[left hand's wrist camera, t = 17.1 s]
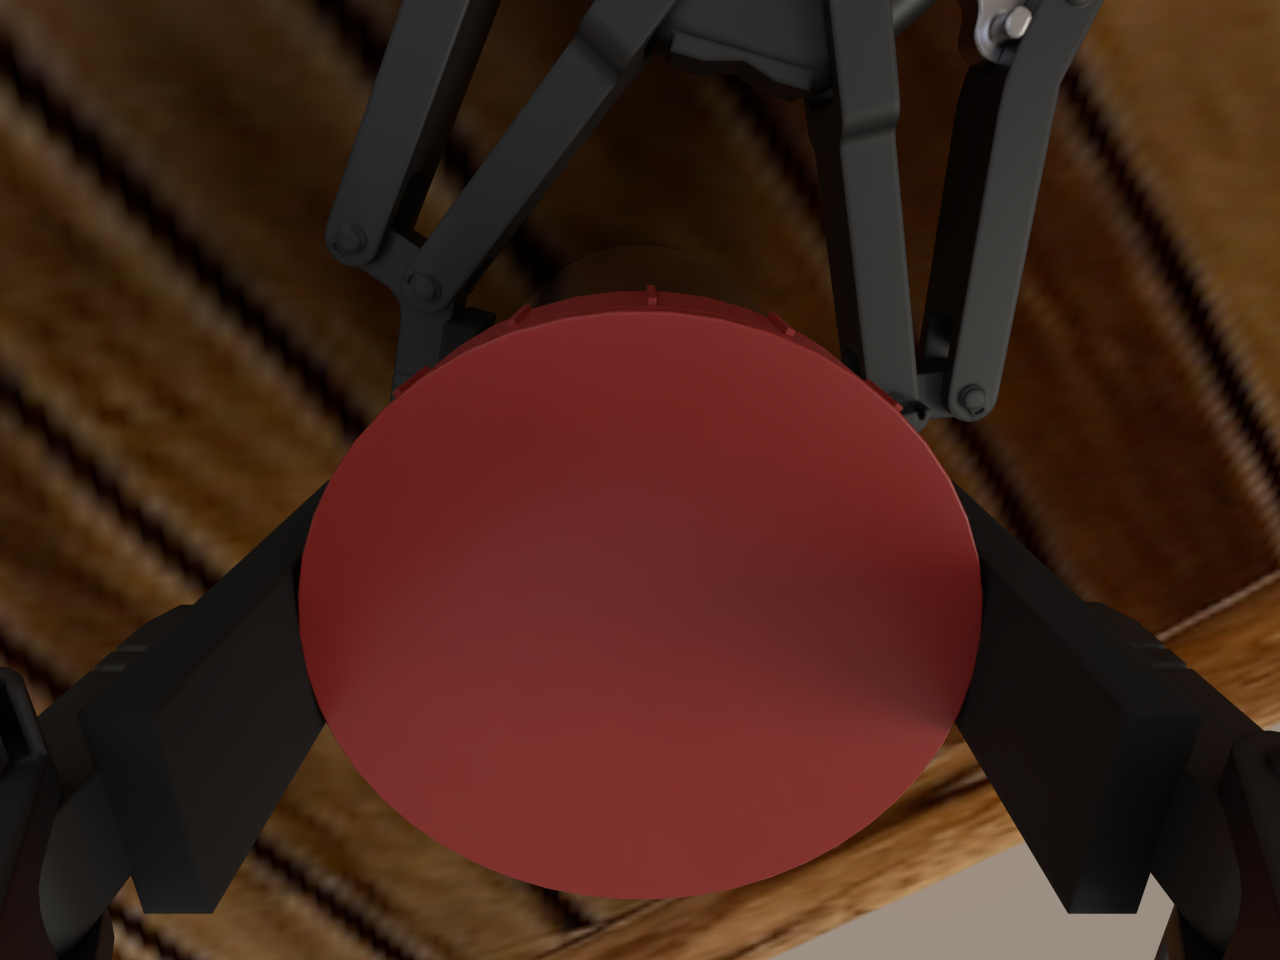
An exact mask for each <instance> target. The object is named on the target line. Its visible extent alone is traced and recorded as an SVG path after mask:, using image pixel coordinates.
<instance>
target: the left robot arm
mask: <svg viewBox="0 0 1280 960" xmlns="http://www.w3.org/2000/svg"><path fill="white" fill-rule="evenodd" d="M329 480H330V479H329ZM329 480H328V481H327V482H326V483H325V484H324V485H323V486H322V487H320V488H319V489H318V490H317V491H316V492H315V493H314V494H313V495H312V496H311V497H310V498H309V499H307V500H306V501H305V502H304V503H303V504H302V505H301V506H300V507H299V508H298V509H297V510H296V511H294V512H293V513H292V514H291V515H290V516H289V517H288V518H287V519H286V520H285V521H284V522H282V523H281V524H280V525H279V526H278V527H277V528H276V529H275V530H274V531H273V532H272V533H271V534H269V535H268V536H267V537H266V538H265V539H264V540H263V541H262V542H261V543H260V544H259V545H258V546H256V547H255V548H254V549H253V550H252V551H251V552H250V553H249V554H248V555H247V556H246V557H245V558H243V559H242V560H241V561H240V562H239V563H238V564H237V565H236V566H235V567H234V568H233V569H231V570H230V571H229V572H228V573H227V574H226V575H225V576H224V577H223V578H222V579H221V580H220V581H218V582H217V583H216V584H215V585H214V586H213V587H212V588H211V589H210V590H209V591H208V592H207V593H205V594H204V595H203V596H202V597H201V598H200V599H199V600H198V601H197V602H196V603H195V604H194V605H179V606H177V607H175V608H174V609H172V610H170V611H168V612H166V613H164V614H162V615H160V616H158V617H157V618H155V619H153V620H151V621H149V622H147V623H145V624H144V625H142V626H141V627H140V628H139V629H138V630H137V631H135V632H134V633H133V634H132V635H131V636H130V637H129V638H127V639H126V640H125V641H124V642H123V643H122V644H121V645H119V646H118V647H117V652H111V653H110V654H109V655H108V656H107V657H106V658H104V659H103V660H102V661H101V662H100V663H99V664H97V665H96V666H95V671H94V672H88V673H87V674H86V675H85V676H84V677H83V678H81V679H80V680H79V681H78V682H77V683H76V684H74V685H73V686H72V687H71V688H70V689H69V690H68V691H66V692H65V693H64V694H63V695H62V696H61V697H60V698H58V699H57V700H56V701H55V702H54V703H53V704H51V705H50V706H49V707H48V708H47V709H46V710H45V711H43V712H42V713H41V714H40V715H39V716H38V717H37V715H36V712H35V710H34V707H33V704H32V701H31V699H30V696H29V693H28V691H27V688H26V685H25V682H24V680H23V677H22V675H21V674H20V673H18V672H16V671H14V670H12V669H11V668H9V667H0V960H112V953H113V945H114V938H115V937H114V932H113V926H112V921H111V918H110V915H109V913H108V910H107V906H108V905H109V904H110V902H111V901H112V900H113V898H114V897H115V896H116V894H117V893H118V892H119V890H120V889H121V888H122V886H123V885H124V884H125V882H126V881H127V880H128V878H129V877H130V876H132V879H133V882H134V885H135V888H136V891H137V894H138V897H139V900H140V903H141V906H142V909H143V912H144V914H212V913H213V912H214V910H215V908H216V907H217V905H218V903H219V902H220V900H221V898H222V896H223V895H224V893H225V891H226V890H227V888H228V886H229V885H230V883H231V881H232V880H233V878H234V876H235V875H236V873H237V871H238V869H239V868H240V866H241V864H242V863H243V861H244V859H245V858H246V856H247V854H248V853H249V851H250V849H251V848H252V846H253V844H254V843H255V841H256V839H257V837H258V836H259V834H260V832H261V831H262V829H263V827H264V826H265V824H266V822H267V821H268V819H269V817H270V816H271V814H272V812H273V811H274V809H275V807H276V805H277V804H278V802H279V800H280V799H281V797H282V795H283V794H284V792H285V790H286V789H287V787H288V785H289V784H290V782H291V780H292V778H293V777H294V775H295V773H296V772H297V770H298V768H299V767H300V765H301V763H302V762H303V760H304V758H305V757H306V755H307V753H308V752H309V750H310V748H311V746H312V745H313V743H314V741H315V740H316V738H317V736H318V735H319V733H320V731H321V730H322V728H323V726H324V725H325V723H326V720H325V718H324V716H323V714H322V712H321V711H320V709H319V706H318V704H317V701H316V698H315V695H314V692H313V689H312V686H311V683H310V681H309V678H308V673H307V668H306V663H305V658H304V653H303V648H302V643H301V638H300V632H299V617H298V587H299V579H300V570H301V562H302V554H303V551H304V547H305V543H306V540H307V536H308V533H309V529H310V526H311V522H312V519H313V515H314V513H315V511H316V509H317V506H318V504H319V502H320V500H321V498H322V496H323V493H324V491H325V488H326V487H327V485H328V483H329ZM951 481H952V480H951ZM952 483H953V486H954V488H955V490H956V492H957V494H958V497H959V499H960V501H961V503H962V506H963V508H964V510H965V512H966V514H967V517H968V520H969V523H970V527H971V531H972V534H973V538H974V542H975V545H976V549H977V553H978V556H979V565H980V574H981V583H982V592H983V608H982V629H981V636H980V641H979V646H978V652H977V657H976V662H975V667H974V672H973V676H972V680H971V683H970V685H969V688H968V691H967V694H966V697H965V699H964V702H963V705H962V708H961V710H960V712H959V714H958V716H957V718H956V720H955V724H956V725H957V727H958V729H959V731H960V732H961V734H962V736H963V737H964V739H965V741H966V742H967V744H968V746H969V747H970V749H971V751H972V752H973V754H974V756H975V758H976V759H977V761H978V763H979V764H980V766H981V768H982V769H983V771H984V773H985V774H986V776H987V778H988V779H989V781H990V783H991V784H992V786H993V788H994V790H995V791H996V793H997V795H998V796H999V798H1000V800H1001V801H1002V803H1003V805H1004V806H1005V808H1006V810H1007V811H1008V813H1009V815H1010V816H1011V818H1012V820H1013V822H1014V823H1015V825H1016V827H1017V828H1018V830H1019V832H1020V833H1021V835H1022V837H1023V838H1024V840H1025V842H1026V843H1027V845H1028V847H1029V848H1030V850H1031V852H1032V853H1033V855H1034V857H1035V859H1036V860H1037V862H1038V864H1039V865H1040V867H1041V869H1042V870H1043V872H1044V874H1045V875H1046V877H1047V879H1048V880H1049V882H1050V884H1051V886H1052V887H1053V889H1054V891H1055V892H1056V894H1057V896H1058V897H1059V899H1060V901H1061V902H1062V904H1063V906H1064V907H1065V909H1066V911H1067V913H1068V914H1136V913H1137V910H1138V907H1139V905H1140V902H1141V899H1142V896H1143V893H1144V890H1145V887H1146V884H1147V881H1148V878H1149V875H1150V872H1151V874H1152V875H1153V876H1154V878H1155V879H1156V880H1157V882H1158V883H1159V884H1160V886H1161V887H1162V888H1163V890H1164V891H1165V892H1166V894H1167V895H1168V896H1169V898H1170V899H1171V900H1172V902H1173V903H1174V907H1173V910H1172V913H1171V915H1170V918H1169V921H1168V924H1167V926H1166V929H1165V932H1164V935H1163V937H1162V940H1161V943H1160V946H1159V948H1158V951H1157V954H1156V957H1155V959H1154V960H1280V732H1275V731H1264V730H1262V729H1261V728H1260V727H1259V726H1258V725H1257V724H1256V723H1254V722H1253V721H1252V720H1251V719H1250V718H1249V717H1247V716H1246V715H1245V714H1244V713H1243V712H1242V711H1240V710H1239V709H1238V708H1237V707H1236V706H1235V705H1233V704H1232V703H1231V702H1230V701H1229V700H1228V699H1227V698H1225V697H1224V696H1223V695H1222V694H1221V693H1220V692H1218V691H1217V690H1216V689H1215V688H1214V687H1213V686H1211V685H1210V684H1209V683H1208V682H1207V681H1206V680H1204V679H1203V678H1202V677H1201V676H1200V675H1199V674H1198V673H1196V672H1195V671H1194V670H1193V669H1187V667H1186V663H1185V662H1184V661H1182V660H1181V659H1180V658H1179V657H1178V656H1177V655H1176V654H1174V653H1173V652H1172V651H1171V650H1170V649H1164V644H1163V643H1162V642H1160V641H1159V640H1158V639H1157V638H1156V637H1155V636H1153V635H1152V634H1151V633H1150V632H1149V631H1148V630H1147V629H1145V628H1144V627H1143V626H1142V625H1141V624H1140V623H1138V622H1137V621H1135V620H1133V619H1131V618H1129V617H1128V616H1126V615H1124V614H1122V613H1120V612H1118V611H1116V610H1114V609H1112V608H1110V607H1109V606H1107V605H1105V604H1103V603H1101V602H1084V601H1083V600H1082V599H1080V598H1079V597H1078V596H1077V595H1076V594H1075V593H1074V592H1073V591H1072V590H1071V589H1070V588H1069V587H1067V586H1066V585H1065V584H1064V583H1063V582H1062V581H1061V580H1060V579H1059V578H1058V577H1057V576H1056V575H1054V574H1053V573H1052V572H1051V571H1050V570H1049V569H1048V568H1047V567H1046V566H1045V565H1044V564H1042V563H1041V562H1040V561H1039V560H1038V559H1037V558H1036V557H1035V556H1034V555H1033V554H1032V553H1031V552H1029V551H1028V550H1027V549H1026V548H1025V547H1024V546H1023V545H1022V544H1021V543H1020V542H1019V541H1018V540H1016V539H1015V538H1014V537H1013V536H1012V535H1011V534H1010V533H1009V532H1008V531H1007V530H1006V529H1005V528H1003V527H1002V526H1001V525H1000V524H999V523H998V522H997V521H996V520H995V519H994V518H993V517H991V516H990V515H989V514H988V513H987V512H986V511H985V510H984V509H983V508H982V507H981V506H980V505H978V504H977V503H976V502H975V501H974V500H973V499H972V498H971V497H970V496H969V495H968V494H967V493H965V492H964V491H963V490H962V489H961V488H960V487H959V486H958V485H957V484H956V483H955V482H953V481H952Z"/></svg>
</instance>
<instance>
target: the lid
mask: <svg viewBox="0 0 1280 960" xmlns="http://www.w3.org/2000/svg"><path fill="white" fill-rule="evenodd" d="M392 394H393V395H394V396H395V397H396V399H394V400H393V401H392V402H391V403H390V404H388V405H387V406H386V407H385V408H384V409H383V410H382V412H381V413H380V414H379V415H378V416H377V417H376V418H375V419H374V420H373V421H372V423H371V424H370V425H369V426H368V427H367V428H366V429H365V430H364V431H363V432H362V434H361V435H360V436H359V437H358V438H357V439H356V440H355V442H354V443H353V445H352V446H351V448H350V449H349V451H348V452H347V454H346V455H345V457H344V458H343V460H342V461H341V463H340V464H339V466H338V467H337V469H336V470H335V472H334V473H333V475H332V476H331V478H330V480H329V483H328V485H327V487H326V488H325V491H324V493H323V496H322V498H321V500H320V502H319V504H318V506H317V509H316V511H315V513H314V515H313V519H312V522H311V526H310V529H309V533H308V536H307V540H306V543H305V547H304V551H303V554H302V562H301V570H300V579H299V587H298V617H299V632H300V638H301V643H302V648H303V653H304V658H305V663H306V668H307V673H308V678H309V681H310V683H311V686H312V689H313V692H314V695H315V698H316V701H317V704H318V706H319V709H320V711H321V712H322V714H323V716H324V718H325V720H326V722H327V724H328V726H329V728H330V730H331V732H332V734H333V736H334V738H335V740H336V741H337V743H338V744H339V746H340V747H341V748H342V750H343V751H344V753H345V754H346V756H347V757H348V759H349V760H350V761H351V763H352V764H353V766H354V767H355V769H356V770H357V771H358V772H359V774H360V775H361V776H362V777H363V778H364V779H365V780H366V781H367V782H368V784H369V785H370V786H371V787H372V788H373V789H374V790H375V791H376V792H377V794H378V795H379V796H380V797H381V798H382V799H383V800H384V801H385V802H387V803H388V804H389V805H390V806H391V807H392V808H393V809H395V810H396V811H397V812H398V813H399V814H400V815H401V816H403V817H404V818H405V819H406V820H407V821H408V822H409V823H411V824H412V825H414V826H415V827H416V828H418V829H419V830H421V831H422V832H424V833H425V834H427V835H428V836H429V837H431V838H432V839H434V840H435V841H437V842H438V843H440V844H441V845H443V846H445V847H447V848H448V849H450V850H452V851H454V852H456V853H458V854H460V855H461V856H463V857H465V858H467V859H469V860H471V861H472V862H474V863H477V864H479V865H482V866H484V867H486V868H489V869H491V870H494V871H496V872H498V873H501V874H503V875H506V876H508V877H511V878H514V879H518V880H521V881H524V882H528V883H531V884H534V885H538V886H541V887H544V888H549V889H554V890H559V891H564V892H569V893H574V894H579V895H587V896H597V897H607V898H617V899H663V898H674V897H684V896H695V895H701V894H706V893H711V892H717V891H722V890H727V889H732V888H736V887H739V886H743V885H746V884H750V883H753V882H756V881H760V880H763V879H767V878H770V877H772V876H775V875H777V874H780V873H782V872H785V871H787V870H790V869H792V868H795V867H797V866H799V865H802V864H804V863H806V862H808V861H810V860H812V859H814V858H816V857H817V856H819V855H821V854H823V853H825V852H827V851H829V850H831V849H833V848H834V847H836V846H838V845H839V844H841V843H842V842H844V841H845V840H847V839H848V838H850V837H851V836H853V835H854V834H856V833H857V832H859V831H860V830H862V829H863V828H864V827H866V826H867V825H869V824H870V823H871V822H872V821H873V820H875V819H876V818H877V817H878V816H879V815H880V814H882V813H883V812H884V811H885V810H886V809H887V808H889V807H890V806H891V805H892V804H893V803H894V802H896V801H897V800H898V799H899V797H900V796H901V795H902V794H903V793H904V792H905V791H906V790H907V789H908V788H909V787H910V785H911V784H912V783H913V782H914V781H915V780H916V779H917V778H918V777H919V776H920V775H921V773H922V772H923V771H924V769H925V768H926V767H927V765H928V764H929V762H930V761H931V759H932V758H933V757H934V755H935V754H936V752H937V751H938V750H939V748H940V747H941V745H942V744H943V743H944V741H945V739H946V737H947V735H948V733H949V731H950V729H951V727H952V725H953V723H954V722H955V720H956V718H957V716H958V714H959V712H960V710H961V708H962V705H963V702H964V699H965V697H966V694H967V691H968V688H969V685H970V683H971V680H972V676H973V672H974V667H975V662H976V657H977V652H978V646H979V641H980V636H981V629H982V608H983V592H982V583H981V574H980V565H979V556H978V553H977V549H976V545H975V542H974V538H973V534H972V531H971V527H970V523H969V520H968V517H967V514H966V512H965V510H964V508H963V506H962V503H961V501H960V499H959V497H958V494H957V492H956V490H955V488H954V486H953V483H952V481H951V479H950V477H949V476H948V474H947V473H946V471H945V470H944V468H943V467H942V465H941V464H940V462H939V461H938V459H937V457H936V456H935V454H934V453H933V451H932V450H931V448H930V447H929V445H928V444H927V442H926V441H925V440H924V439H923V438H922V437H921V435H920V434H919V433H918V432H917V431H916V430H915V429H914V428H913V427H912V425H911V424H910V423H909V422H908V421H907V420H906V419H905V418H904V416H903V415H902V414H901V413H900V411H901V410H902V409H903V407H902V406H901V405H900V404H899V403H898V402H897V401H895V400H894V399H893V398H892V397H890V396H889V395H888V394H887V393H885V392H884V391H883V390H882V389H881V388H879V387H878V386H877V385H876V384H874V383H873V382H872V381H871V380H870V379H867V380H865V381H863V380H862V379H861V378H860V377H858V376H857V375H856V374H855V373H854V372H852V371H851V370H850V369H849V368H848V367H846V366H845V365H844V364H843V363H842V362H840V361H839V360H838V359H837V358H836V357H834V356H833V355H832V354H831V353H830V352H828V351H827V350H826V349H825V348H823V347H822V346H820V345H818V344H817V343H815V342H814V341H812V340H810V339H809V338H807V337H805V336H804V335H802V334H800V333H799V332H797V331H796V330H794V329H793V328H791V327H790V326H789V325H788V324H787V323H786V322H785V321H784V320H782V319H781V318H780V317H779V316H778V315H777V314H775V313H773V312H771V311H770V312H769V314H768V316H767V317H766V316H764V315H762V314H759V313H757V312H755V311H753V310H750V309H747V308H744V307H740V306H737V305H733V304H729V303H726V302H722V301H719V300H715V299H712V298H708V297H702V296H694V295H687V294H680V293H673V292H665V291H655V286H654V285H647V291H616V292H608V293H601V294H593V295H586V296H578V297H573V298H569V299H566V300H562V301H558V302H555V303H551V304H547V305H544V306H540V307H536V308H533V309H531V306H530V304H527V305H525V306H523V307H522V308H521V309H520V310H519V311H518V312H516V313H515V314H514V315H513V316H512V317H511V318H510V319H507V320H505V321H502V322H500V323H498V324H495V325H493V326H492V327H490V328H488V329H487V330H485V331H483V332H482V333H480V334H478V335H477V336H475V337H473V338H472V339H470V340H468V341H467V342H465V343H464V344H462V345H460V346H459V347H457V348H456V349H455V350H454V351H452V352H451V353H450V354H449V355H447V356H446V357H445V358H444V359H443V360H441V361H440V362H439V363H438V364H436V365H435V366H434V367H433V368H431V369H430V368H429V367H428V366H427V365H426V366H424V367H423V368H422V369H421V370H419V371H418V372H417V373H416V374H414V375H413V376H412V377H411V378H409V379H408V380H407V381H406V382H404V383H403V384H402V385H401V386H399V387H398V388H397V389H396V390H395V391H394V392H393V393H392Z"/></svg>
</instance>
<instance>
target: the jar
mask: <svg viewBox="0 0 1280 960" xmlns="http://www.w3.org/2000/svg"><path fill="white" fill-rule="evenodd" d="M647 285H654V286H655V291H665V292H673V293H680V294H687V295H694V296H702V297H708V298H712V299H715V300H719V301H722V302H726V303H729V304H733V305H737V306H740V307H744V308H747V309H750V310H753V311H755V312H757V313H759V314H762V315H764V316H766V317H767V316H768V315H767V314H766V313H765V312H764V311H763V310H762V309H760V308H759V307H758V306H757V305H756V304H755V303H754V302H753V301H752V300H751V299H750V298H749V297H748V296H747V295H746V294H745V293H744V292H743V291H742V290H741V289H740V288H739V287H738V286H737V285H736V284H734V283H733V282H732V281H731V280H730V279H729V278H728V277H727V276H726V275H725V274H724V273H722V272H721V271H719V270H718V269H717V268H715V267H714V266H713V265H711V264H709V263H708V262H706V261H704V260H702V259H700V258H698V257H696V256H694V255H692V254H689V253H686V252H683V251H681V250H678V249H674V248H669V247H665V246H660V245H647V244H634V245H621V246H616V247H611V248H606V249H603V250H600V251H597V252H594V253H591V254H589V255H586V256H584V257H583V258H581V259H579V260H577V261H575V262H573V263H571V264H570V265H568V266H567V267H565V268H564V269H562V270H561V271H560V272H558V273H557V274H556V275H555V276H554V277H552V278H551V279H550V280H549V281H548V282H547V283H546V284H545V285H544V286H543V287H542V288H541V289H540V290H539V291H538V292H536V293H535V294H534V295H533V296H532V297H531V298H530V299H529V300H528V301H527V302H526V303H525V304H524V305H523V306H525V305H527V304H530V306H531V309H533V308H536V307H540V306H544V305H547V304H551V303H555V302H558V301H562V300H566V299H569V298H573V297H578V296H586V295H593V294H601V293H608V292H616V291H647ZM523 306H522V307H523ZM522 307H521V308H522ZM521 308H520V309H521ZM520 309H519V310H520ZM519 310H518V311H519ZM518 311H517V312H518ZM513 315H514V314H513ZM513 315H512V316H513ZM512 316H511V317H512ZM511 317H510V318H511ZM510 318H509V319H510Z"/></svg>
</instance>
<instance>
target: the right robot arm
mask: <svg viewBox="0 0 1280 960" xmlns="http://www.w3.org/2000/svg"><path fill="white" fill-rule="evenodd" d="M937 1H938V0H595V2H594V3H593V4H592V6H591V7H590V9H589V10H588V12H587V13H586V15H585V16H584V18H583V19H582V21H581V23H580V25H579V27H578V29H577V31H576V34H575V36H574V37H573V39H572V41H571V42H570V44H569V45H568V47H567V48H566V49H565V51H564V52H563V54H562V55H561V56H560V58H559V59H558V60H557V62H556V63H555V64H554V66H553V67H552V69H551V70H550V71H549V73H548V74H547V75H546V77H545V78H544V80H543V81H542V82H541V84H540V85H539V86H538V88H537V89H536V91H535V92H534V93H533V95H532V96H531V97H530V99H529V100H528V102H527V103H526V104H525V106H524V107H523V108H522V110H521V111H520V113H519V114H518V115H517V117H516V118H515V119H514V121H513V122H512V124H511V125H510V126H509V128H508V129H507V130H506V132H505V133H504V135H503V136H502V137H501V139H500V140H499V141H498V143H497V144H496V146H495V147H494V148H493V150H492V151H491V152H490V154H489V155H488V157H487V158H486V159H485V161H484V162H483V163H482V165H481V166H480V168H479V169H478V170H477V172H476V173H475V174H474V176H473V177H472V179H471V180H470V181H469V183H468V184H467V185H466V187H465V188H464V190H463V191H462V192H461V194H460V195H459V196H458V198H457V199H456V201H455V202H454V203H453V205H452V206H451V207H450V209H449V210H448V212H447V213H446V214H445V216H444V217H443V218H442V220H441V221H440V223H439V224H438V225H437V227H436V228H435V229H434V231H433V232H432V234H431V235H430V236H429V238H428V239H427V238H425V237H424V236H422V235H421V234H419V233H418V232H416V231H415V230H413V229H414V226H415V224H416V221H417V219H418V216H419V213H420V211H421V208H422V206H423V203H424V200H425V198H426V195H427V193H428V190H429V187H430V185H431V182H432V179H433V177H434V174H435V172H436V169H437V166H438V164H439V161H440V159H441V156H442V153H443V151H444V148H445V145H446V143H447V140H448V138H449V135H450V132H451V130H452V127H453V125H454V122H455V119H456V117H457V114H458V112H459V109H460V106H461V104H462V101H463V98H464V96H465V93H466V91H467V88H468V85H469V83H470V80H471V78H472V75H473V72H474V70H475V67H476V64H477V62H478V59H479V57H480V54H481V51H482V49H483V46H484V44H485V41H486V38H487V36H488V33H489V31H490V28H491V25H492V23H493V20H494V17H495V15H496V12H497V10H498V7H499V4H500V2H501V0H403V2H402V5H401V7H400V10H399V13H398V16H397V19H396V22H395V25H394V28H393V31H392V34H391V37H390V40H389V43H388V46H387V48H386V51H385V54H384V57H383V60H382V63H381V66H380V69H379V72H378V75H377V78H376V81H375V84H374V87H373V89H372V92H371V95H370V98H369V101H368V104H367V107H366V110H365V113H364V116H363V119H362V122H361V125H360V128H359V130H358V133H357V136H356V139H355V142H354V145H353V148H352V151H351V154H350V157H349V160H348V163H347V166H346V169H345V172H344V174H343V177H342V180H341V183H340V186H339V189H338V192H337V195H336V198H335V201H334V204H333V207H332V210H331V213H330V215H329V218H328V221H327V224H326V228H325V236H324V238H325V242H326V246H327V249H328V250H329V252H330V253H331V255H332V256H333V257H334V258H335V259H336V260H338V261H339V262H340V263H342V264H344V265H348V266H351V267H356V266H357V267H358V268H360V269H362V270H363V271H365V272H366V273H368V274H369V275H371V276H372V277H374V278H376V279H377V280H379V281H380V282H382V283H383V284H384V285H386V286H387V287H388V288H389V289H390V290H391V291H392V292H393V294H394V295H395V296H396V298H397V300H398V302H399V306H400V310H401V322H400V330H399V337H398V345H397V352H396V360H395V367H394V375H393V382H392V390H391V397H390V403H391V402H392V401H393V400H394V399H396V397H395V396H394V395H393V394H392V393H393V392H394V391H395V390H396V389H397V388H398V387H399V386H401V385H402V384H403V383H404V382H406V381H407V380H408V379H409V378H411V377H412V376H413V375H414V374H416V373H417V372H418V371H419V370H421V369H422V368H423V367H424V366H426V365H427V366H428V367H429V368H430V369H431V368H433V367H434V366H435V365H436V364H438V363H439V362H440V361H441V360H443V359H444V358H445V357H446V356H447V355H449V354H450V353H451V352H452V351H454V350H455V349H456V348H457V347H459V346H460V345H462V344H464V343H465V342H467V341H468V340H470V339H472V338H473V337H475V336H477V335H478V334H480V333H482V332H483V331H485V330H487V329H488V328H490V327H492V326H493V325H494V324H495V319H496V314H495V313H491V312H487V311H483V310H479V309H476V308H472V307H468V308H466V309H465V307H466V301H467V295H469V294H470V293H471V292H472V291H474V290H475V288H473V287H474V286H475V285H476V283H477V282H478V281H479V279H480V278H481V277H482V275H483V274H484V273H485V272H486V270H487V269H488V268H489V266H490V265H491V264H492V262H493V261H494V260H495V258H496V257H497V256H498V255H499V253H500V252H501V251H502V249H503V248H504V247H505V245H506V244H507V243H508V242H509V240H510V239H511V238H512V236H513V235H514V234H515V232H516V231H517V230H518V228H519V227H520V226H521V225H522V223H523V222H524V221H525V219H526V218H527V217H528V215H529V214H530V213H531V212H532V210H533V209H534V208H535V206H536V205H537V204H538V202H539V201H540V200H541V198H542V197H543V196H544V195H545V193H546V192H547V191H548V189H549V188H550V187H551V185H552V184H553V183H554V181H555V180H556V179H557V178H558V176H559V175H560V174H561V172H562V171H563V170H564V168H565V167H566V166H567V165H568V163H569V162H570V161H571V159H572V158H573V157H574V155H575V154H576V153H577V151H578V150H579V149H580V148H581V146H582V145H583V144H584V142H585V141H586V140H587V138H588V137H589V136H590V135H591V133H592V132H593V131H594V129H595V128H596V127H597V125H598V124H599V123H600V121H601V120H602V119H603V118H604V116H605V115H606V114H607V112H608V111H609V110H610V108H611V107H612V106H613V105H614V103H615V102H616V101H617V99H618V98H619V97H620V96H621V95H622V94H623V93H624V92H625V91H626V90H627V89H628V87H629V86H630V85H631V84H632V83H633V81H634V80H635V79H636V78H637V76H638V75H639V74H640V73H641V71H642V70H643V69H644V67H645V66H646V65H647V63H648V62H649V61H650V59H651V58H652V57H653V56H654V54H655V53H658V54H659V55H660V56H661V57H663V58H664V59H666V60H667V61H668V64H667V66H668V67H672V68H675V69H679V70H682V71H686V72H689V73H693V74H696V75H728V74H729V75H734V76H736V77H737V78H739V79H740V80H742V81H743V82H745V83H746V84H748V85H749V86H751V87H753V88H754V89H756V90H757V91H759V92H760V93H762V94H766V95H769V96H773V97H776V98H780V99H783V100H787V101H790V102H792V101H794V100H796V99H797V98H804V105H805V112H806V120H807V128H808V133H809V138H810V141H811V143H812V145H813V148H814V151H815V156H816V163H817V171H818V179H819V187H820V194H821V202H822V210H823V218H824V226H825V234H826V242H827V250H828V257H829V265H830V273H831V281H832V289H833V297H834V305H835V312H836V320H837V328H838V336H839V344H840V352H841V360H842V363H843V364H844V365H845V366H846V367H848V368H849V369H850V370H851V371H852V372H854V373H855V374H856V375H857V376H858V377H860V378H861V379H862V380H863V381H865V380H867V379H870V380H871V381H872V382H873V383H874V384H876V385H877V386H878V387H879V388H881V389H882V390H883V391H884V392H885V393H887V394H888V395H889V396H890V397H892V398H893V399H894V400H895V401H897V402H898V403H899V404H900V405H901V406H902V407H903V409H902V410H901V411H900V413H901V414H902V415H903V416H904V418H905V419H906V420H907V421H908V422H909V423H910V424H911V425H912V427H913V428H914V429H915V430H916V431H917V432H918V433H919V432H920V431H921V430H922V429H924V428H925V426H926V424H927V422H928V420H929V419H938V418H948V417H956V418H957V419H959V420H962V421H967V422H971V421H976V420H979V419H981V418H983V417H985V416H986V415H988V413H989V412H990V411H991V410H992V409H993V408H994V405H995V403H996V400H997V397H998V392H999V387H1000V382H1001V377H1002V372H1003V367H1004V362H1005V357H1006V352H1007V347H1008V342H1009V337H1010V332H1011V327H1012V322H1013V317H1014V312H1015V307H1016V302H1017V297H1018V292H1019V287H1020V282H1021V277H1022V272H1023V267H1024V262H1025V257H1026V252H1027V247H1028V242H1029V237H1030V232H1031V227H1032V222H1033V217H1034V212H1035V207H1036V202H1037V197H1038V192H1039V187H1040V182H1041V177H1042V172H1043V167H1044V162H1045V157H1046V152H1047V147H1048V142H1049V137H1050V132H1051V127H1052V122H1053V117H1054V112H1055V107H1056V102H1057V97H1058V92H1059V87H1060V83H1061V81H1062V79H1063V77H1064V76H1065V74H1066V72H1067V70H1068V68H1069V66H1070V64H1071V62H1072V60H1073V58H1074V57H1075V55H1076V53H1077V51H1078V49H1079V47H1080V45H1081V43H1082V41H1083V39H1084V38H1085V36H1086V34H1087V32H1088V30H1089V28H1090V26H1091V24H1092V22H1093V20H1094V18H1095V17H1096V15H1097V13H1098V11H1099V9H1100V7H1101V5H1102V3H1103V1H1104V0H957V1H958V3H959V5H960V8H961V11H962V24H961V29H960V33H959V38H958V48H959V51H960V54H961V56H962V58H963V59H964V61H965V62H967V63H968V64H969V65H970V67H969V70H968V72H967V74H966V77H965V80H964V83H963V86H962V89H961V93H960V96H959V100H958V104H957V109H956V114H955V119H954V125H953V131H952V138H951V144H950V151H949V157H948V163H947V170H946V176H945V183H944V189H943V195H942V202H941V208H940V215H939V221H938V228H937V234H936V240H935V247H934V253H933V260H932V266H931V272H930V279H929V285H928V292H927V298H926V304H925V311H924V317H923V324H922V330H921V336H920V343H919V349H918V356H917V361H916V360H915V349H914V338H913V327H912V316H911V305H910V293H909V282H908V271H907V260H906V249H905V238H904V227H903V216H902V205H901V194H900V183H899V172H898V161H897V150H896V137H895V132H896V126H897V123H898V120H899V115H900V94H899V83H898V71H897V60H896V48H895V38H896V37H897V36H898V35H899V34H900V33H901V32H902V31H904V30H905V29H906V28H907V27H908V26H909V25H910V24H912V23H913V22H914V21H915V20H916V19H917V18H918V17H920V16H921V15H922V14H923V13H924V12H925V11H927V10H928V9H929V8H930V7H931V6H932V5H933V4H935V3H936V2H937ZM668 58H669V59H668Z"/></svg>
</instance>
